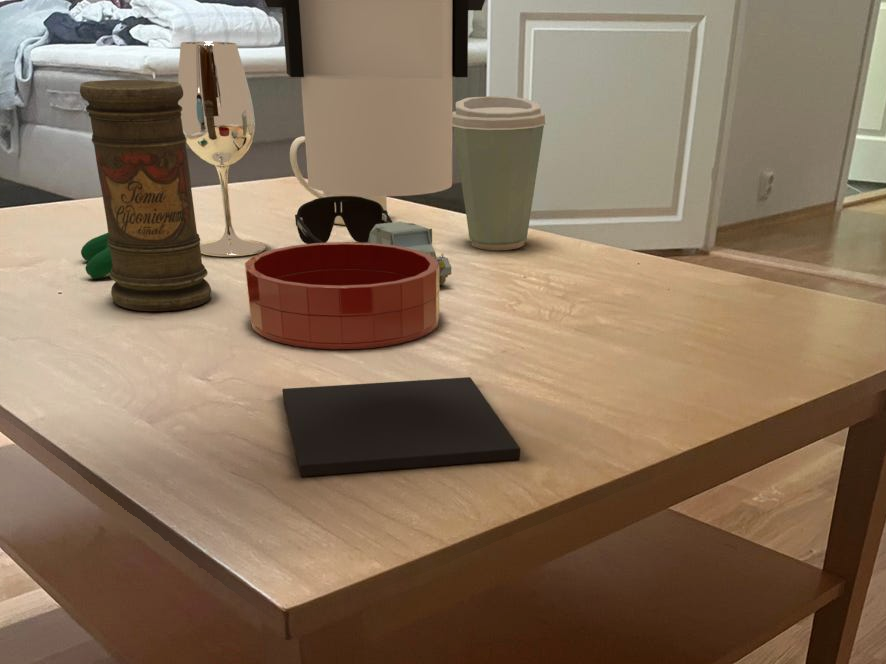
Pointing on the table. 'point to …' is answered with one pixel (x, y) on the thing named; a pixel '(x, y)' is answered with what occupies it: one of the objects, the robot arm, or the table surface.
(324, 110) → the base with upright slab
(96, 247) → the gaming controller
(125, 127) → the container
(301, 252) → the red round dish
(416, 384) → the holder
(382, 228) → the toy car
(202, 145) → the wineglass
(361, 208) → the sunglasses
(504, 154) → the disposable coffee cup
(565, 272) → the table surface
